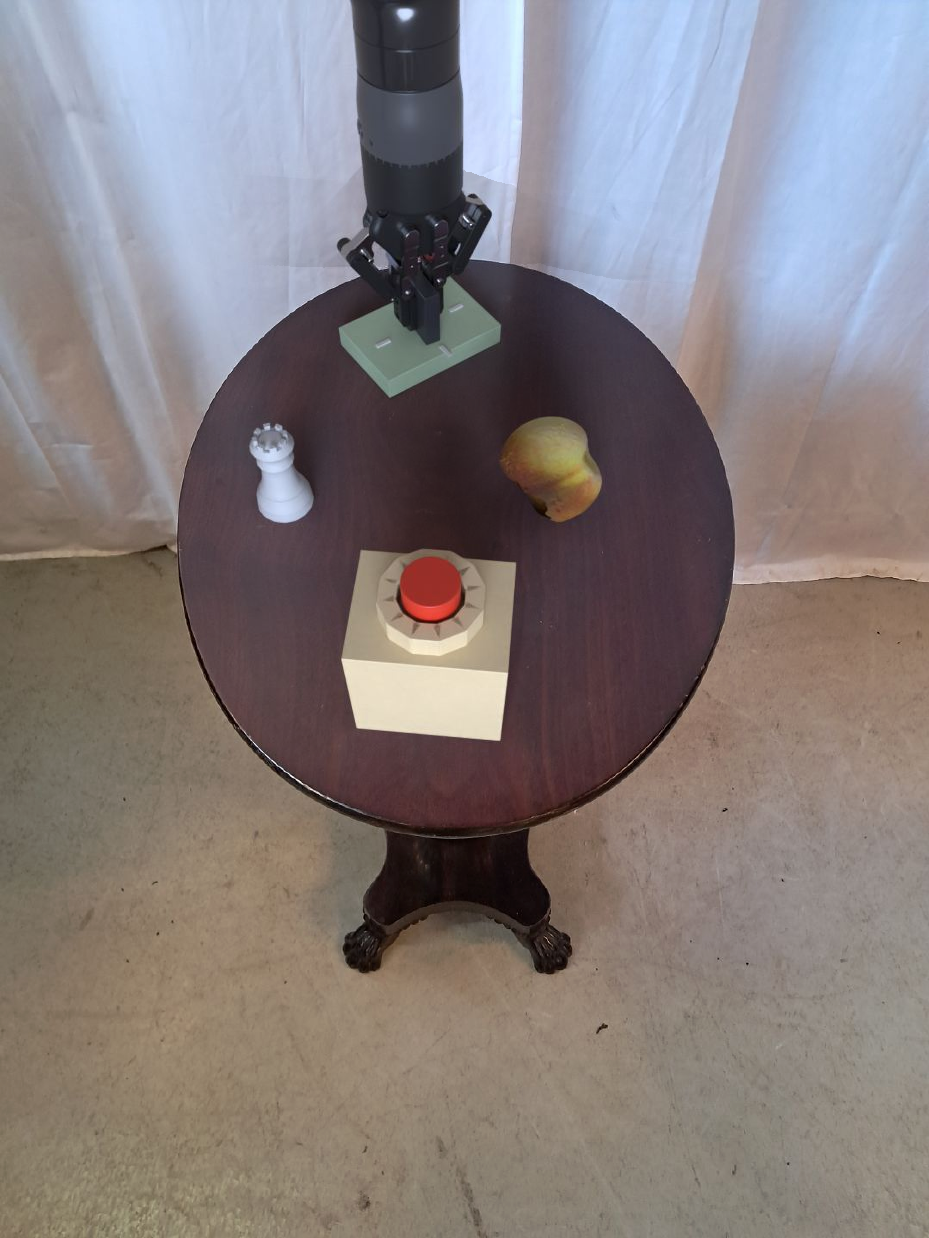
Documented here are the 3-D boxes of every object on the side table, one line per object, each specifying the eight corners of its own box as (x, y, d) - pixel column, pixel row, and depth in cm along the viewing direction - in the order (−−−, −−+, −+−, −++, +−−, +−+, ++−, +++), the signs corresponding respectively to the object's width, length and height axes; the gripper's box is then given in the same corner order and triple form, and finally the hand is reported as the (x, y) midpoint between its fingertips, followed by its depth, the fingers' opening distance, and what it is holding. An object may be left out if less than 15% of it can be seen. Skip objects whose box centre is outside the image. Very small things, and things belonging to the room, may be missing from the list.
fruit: (575, 555, 71) (588, 490, 64) (479, 517, 72) (481, 450, 66) (610, 486, 74) (626, 418, 67) (518, 452, 76) (524, 381, 69)
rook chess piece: (286, 473, 75) (269, 403, 68) (326, 501, 73) (313, 433, 66) (246, 506, 73) (225, 438, 66) (286, 535, 71) (268, 469, 64)
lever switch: (393, 402, 79) (392, 384, 77) (337, 341, 82) (334, 322, 81) (504, 346, 82) (505, 327, 81) (445, 289, 86) (445, 270, 84)
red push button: (397, 620, 54) (396, 604, 53) (405, 569, 56) (403, 553, 54) (457, 625, 54) (458, 609, 52) (463, 574, 56) (463, 558, 54)
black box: (440, 340, 80) (439, 291, 75) (426, 345, 79) (424, 297, 75) (413, 306, 82) (411, 256, 77) (399, 311, 82) (396, 261, 77)
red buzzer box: (356, 728, 63) (337, 644, 53) (372, 629, 67) (358, 533, 57) (500, 741, 63) (509, 659, 52) (507, 640, 67) (518, 545, 56)
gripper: (348, 186, 62) (369, 375, 77) (519, 129, 66) (508, 320, 80) (302, 129, 65) (331, 321, 80) (467, 78, 69) (466, 271, 84)
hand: (419, 320), depth 80 cm, fingers closed
